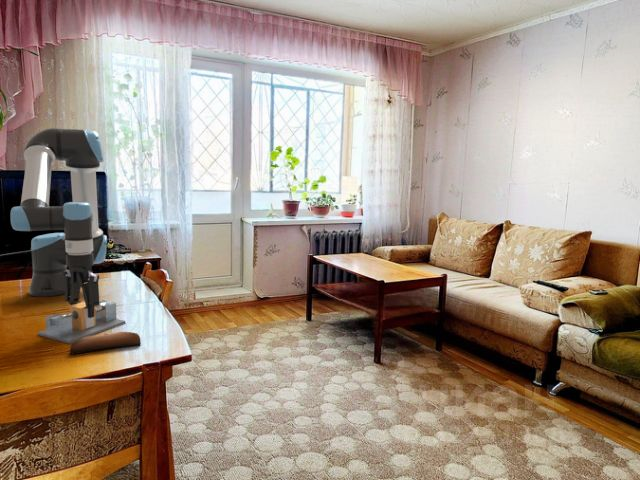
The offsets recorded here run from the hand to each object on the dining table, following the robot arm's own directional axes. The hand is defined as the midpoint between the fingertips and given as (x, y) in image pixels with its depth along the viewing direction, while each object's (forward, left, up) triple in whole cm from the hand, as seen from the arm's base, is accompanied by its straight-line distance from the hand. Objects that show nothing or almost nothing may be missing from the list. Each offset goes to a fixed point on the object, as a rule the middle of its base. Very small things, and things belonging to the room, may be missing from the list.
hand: (83, 325), depth 142 cm
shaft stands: (0, 0, -1) cm, 1 cm away
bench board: (0, 0, -1) cm, 1 cm away
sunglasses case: (+17, -6, -2) cm, 18 cm away
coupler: (0, 0, 0) cm, 0 cm away
